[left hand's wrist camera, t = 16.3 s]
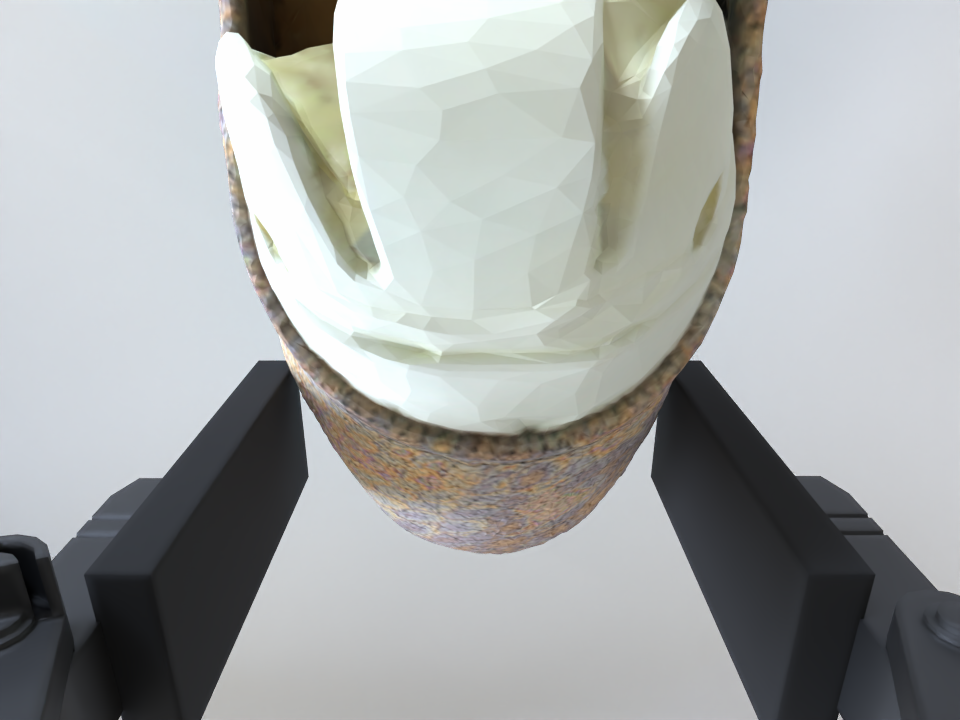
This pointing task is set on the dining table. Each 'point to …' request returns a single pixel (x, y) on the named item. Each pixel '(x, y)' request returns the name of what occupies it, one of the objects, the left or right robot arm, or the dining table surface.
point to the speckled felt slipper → (489, 232)
